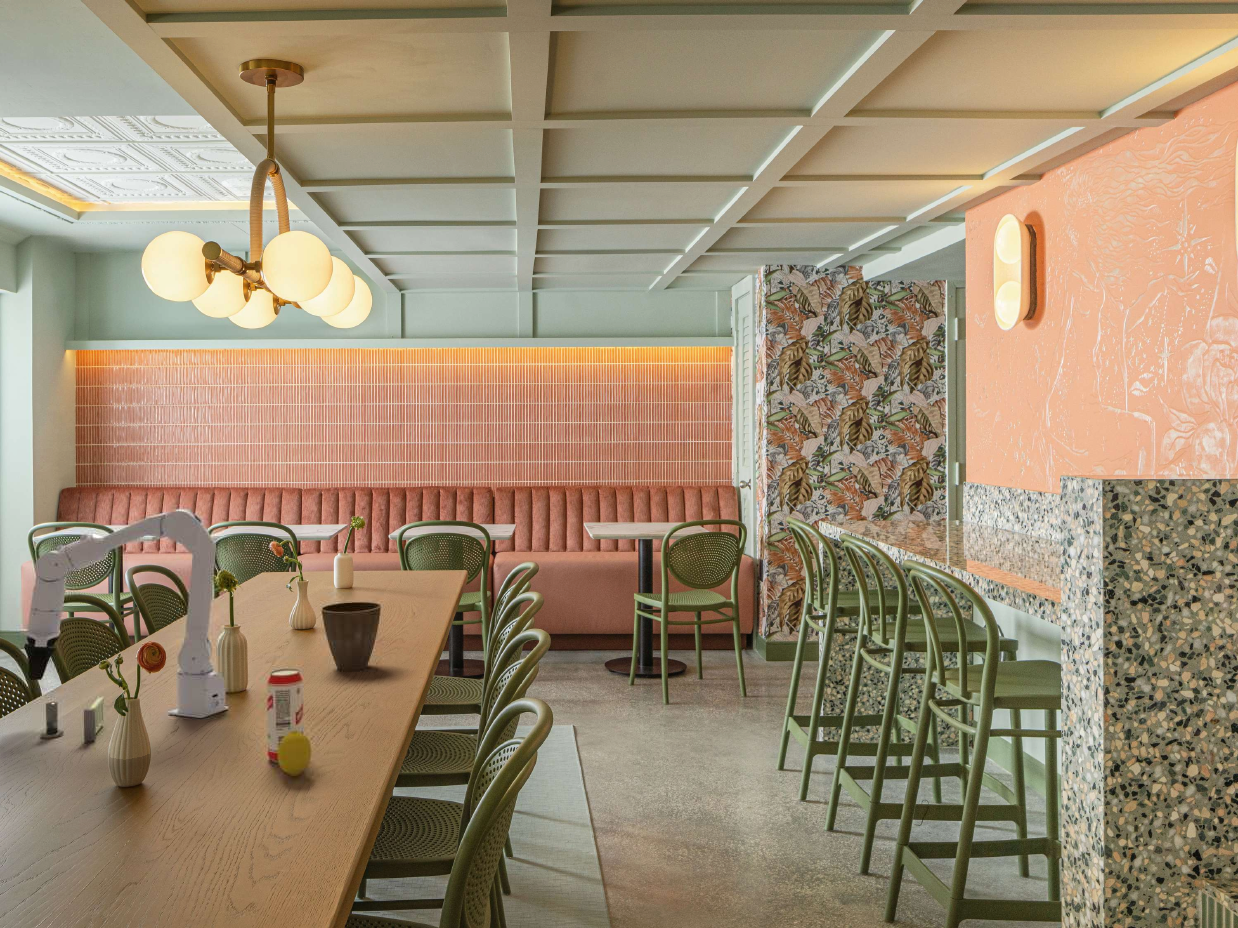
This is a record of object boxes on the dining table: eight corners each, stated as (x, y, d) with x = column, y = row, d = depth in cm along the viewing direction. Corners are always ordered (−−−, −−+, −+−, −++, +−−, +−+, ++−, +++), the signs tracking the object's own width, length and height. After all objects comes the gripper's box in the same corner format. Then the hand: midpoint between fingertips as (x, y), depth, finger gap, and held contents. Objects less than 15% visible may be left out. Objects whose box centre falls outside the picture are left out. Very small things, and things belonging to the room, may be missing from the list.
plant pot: (372, 674, 239) (371, 611, 239) (313, 674, 239) (313, 611, 239) (388, 661, 254) (387, 601, 254) (332, 661, 254) (332, 601, 254)
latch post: (68, 733, 190) (68, 701, 190) (49, 739, 186) (49, 706, 186) (54, 731, 192) (53, 699, 192) (35, 737, 188) (35, 704, 188)
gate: (94, 740, 185) (94, 710, 185) (83, 741, 184) (82, 710, 184) (107, 723, 196) (106, 694, 196) (96, 724, 196) (95, 695, 196)
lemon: (300, 768, 169) (299, 723, 169) (317, 775, 165) (317, 729, 165) (271, 776, 165) (271, 731, 165) (289, 783, 161) (288, 737, 161)
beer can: (266, 765, 171) (265, 676, 170) (269, 754, 177) (268, 669, 176) (302, 762, 172) (302, 674, 172) (304, 751, 178) (303, 666, 178)
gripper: (25, 602, 200) (15, 666, 200) (21, 614, 188) (11, 682, 187) (64, 604, 204) (54, 667, 203) (62, 616, 191) (52, 683, 191)
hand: (36, 674), depth 195 cm, fingers open, 7 cm apart
